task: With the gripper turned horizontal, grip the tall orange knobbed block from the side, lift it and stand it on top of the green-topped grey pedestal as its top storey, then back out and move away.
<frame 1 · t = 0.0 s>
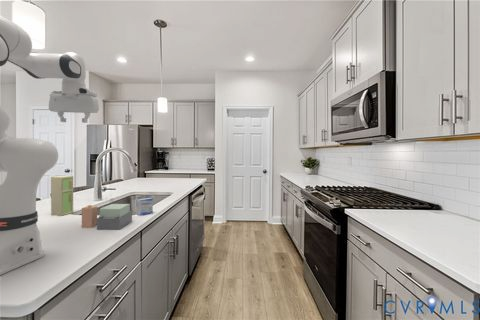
hand: (74, 122, 110), 48 cm above the countertop, tool pointing down, fingers open, 8 cm apart
medicine box: (144, 214, 140), on the countertop
green-topped grey pedestal: (115, 225, 118), on the countertop
toy refrigerator: (62, 214, 136), on the countertop
orange knobbed block: (89, 226, 115), on the countertop
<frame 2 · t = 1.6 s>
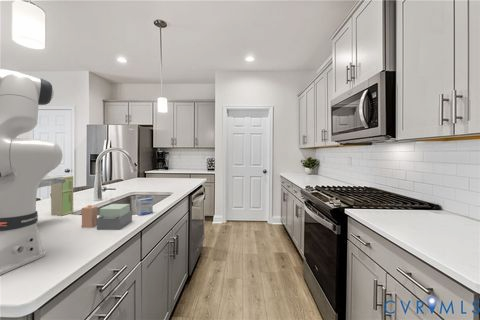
hand: (59, 182, 114), 20 cm above the countertop, tool horizontal, fingers open, 8 cm apart
nothing on the countertop moved.
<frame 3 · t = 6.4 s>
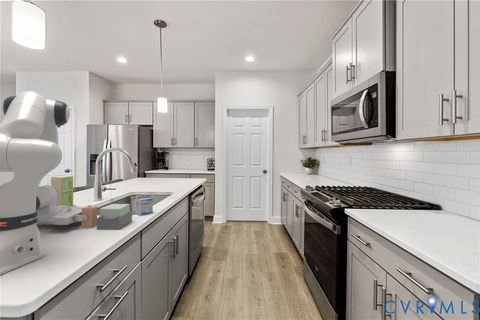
hand: (91, 215, 115), 5 cm above the countertop, tool horizontal, fingers closed on orange knobbed block, 4 cm apart
orange knobbed block: (89, 226, 115), on the countertop, touching gripper
everything else where it was.
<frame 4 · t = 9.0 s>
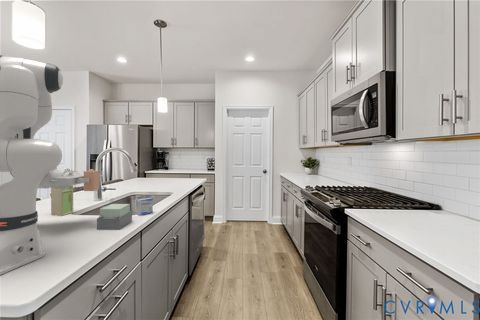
hand: (93, 179, 115), 22 cm above the countertop, tool horizontal, fingers closed on orange knobbed block, 4 cm apart
orange knobbed block: (91, 190, 115), point 17 cm above the countertop, touching gripper
everything else where it was.
when the fingers open (16 cm above the countertop, at t = 11.7 s): orange knobbed block drops 1 cm, resting on green-topped grey pedestal.
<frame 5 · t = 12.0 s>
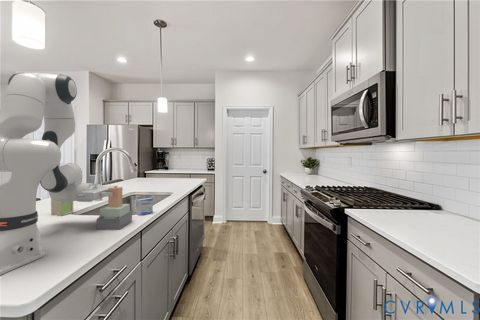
hand: (117, 192, 117), 16 cm above the countertop, tool horizontal, fingers open, 8 cm apart
orange knobbed block: (115, 206, 117), point 9 cm above the countertop, touching green-topped grey pedestal
everything else where it was.
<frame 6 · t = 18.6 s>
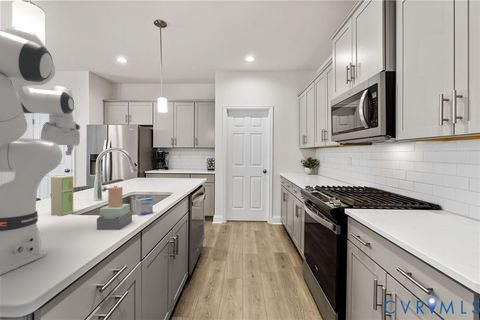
hand: (61, 155, 110), 33 cm above the countertop, tool pointing down, fingers open, 8 cm apart
nothing on the countertop moved.
at the end: orange knobbed block inside the target area on the green-topped grey pedestal (0.0 cm from its centre), point 9.0 cm above the green-topped grey pedestal's base; orange knobbed block tilted 0°; the gripper is holding nothing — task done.
